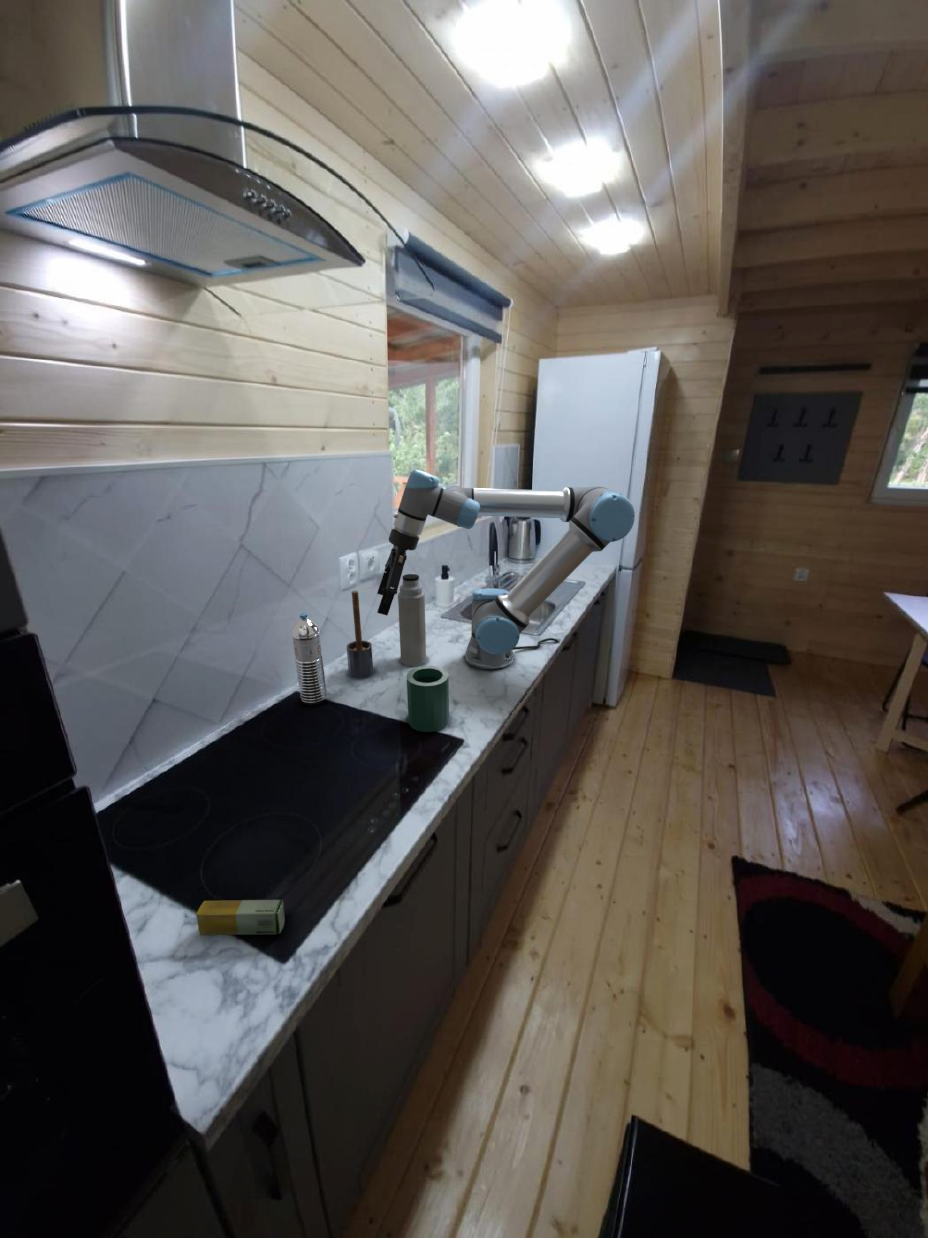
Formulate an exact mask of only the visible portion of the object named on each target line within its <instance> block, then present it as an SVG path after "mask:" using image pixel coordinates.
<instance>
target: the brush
mask: <svg viewBox="0 0 928 1238" xmlns="http://www.w3.org/2000/svg"><path fill="white" fill-rule="evenodd" d="M351 600H352V601H351V602H352V612H353V613H352V614H353V615H352V616H353V626H354V638H355V641H356V648H354V649H353V650H363V649H366V648H364V647H362V641H363V637H362V626H361V625H362V624H361V612H360V611H361V609H360V598H359V591H358V590H352V591H351Z"/></svg>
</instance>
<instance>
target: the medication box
mask: <svg viewBox="0 0 928 1238" xmlns="http://www.w3.org/2000/svg"><path fill="white" fill-rule="evenodd" d="M284 907H285V905H284V900H283V899H240V900H238V899H235V900H233V899H232V900H229V899H228V900H204V901H203V902H202V903H201V904H200V906H199V908H198V909H197V912H196V913H195V915H196V921H197V928H198V935H199V936H247V935H248V936H251V935H255V936H257V935H263V936H264V935H265V936H267V935H280V934H281V933H282V931H283V929H284V926H285V923H286V918H285V908H284Z"/></svg>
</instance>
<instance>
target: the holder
mask: <svg viewBox="0 0 928 1238" xmlns="http://www.w3.org/2000/svg"><path fill="white" fill-rule="evenodd" d="M362 647H364V648H366V649H363V650H353V649H354V648H356V640H354V641H351V642H349V643H348V644H346V658H347V669H348V675H349V677H351V678H354V679H366V678H369V677H371V676H372V675H373V674H374V658H373V657H374V656H373V644H372V642H370V641H367V640H362Z"/></svg>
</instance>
